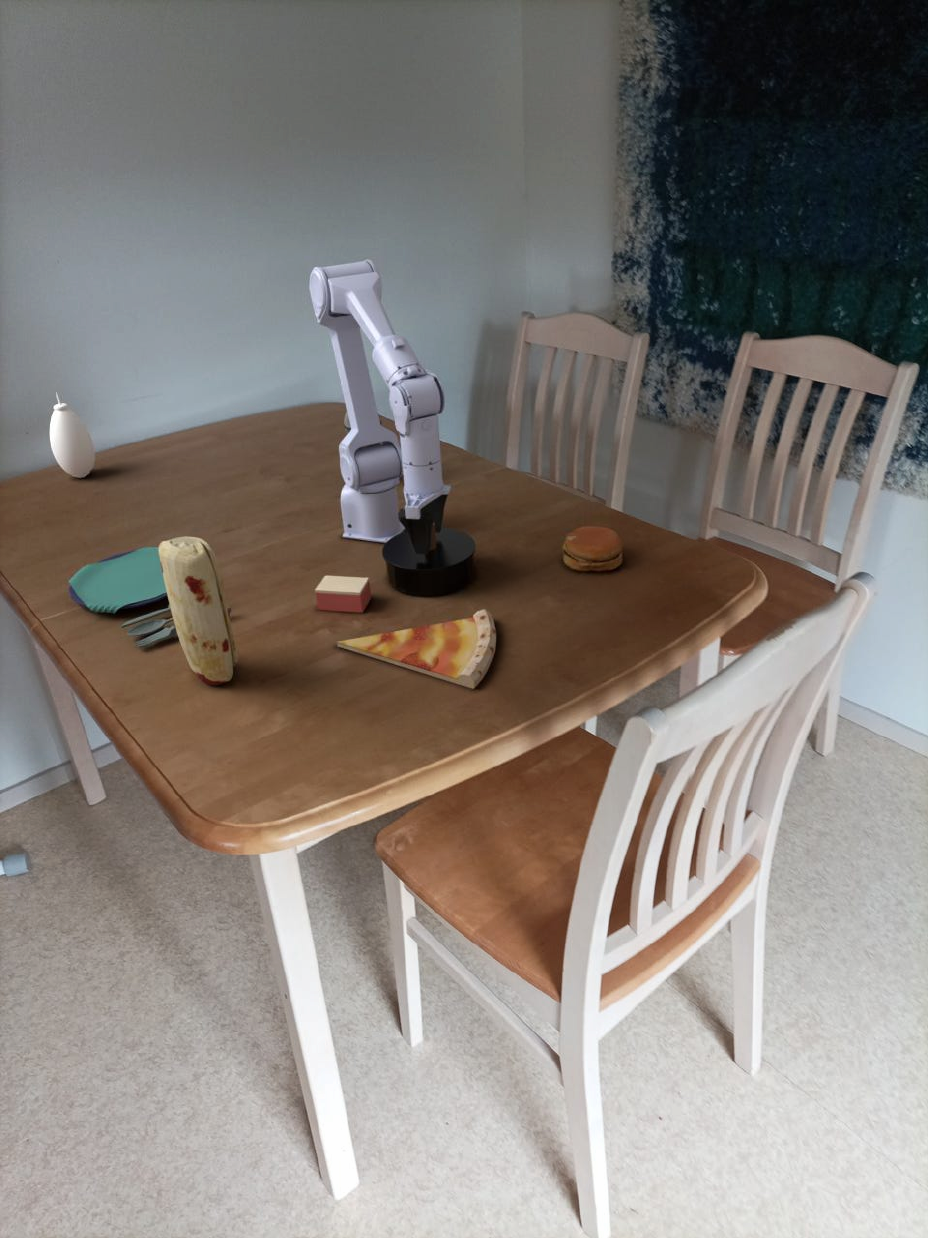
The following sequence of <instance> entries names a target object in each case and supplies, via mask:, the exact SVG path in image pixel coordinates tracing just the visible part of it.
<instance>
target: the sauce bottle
mask: <svg viewBox="0 0 928 1238" xmlns="http://www.w3.org/2000/svg"><path fill="white" fill-rule="evenodd" d="M55 396H56V399H57V404H55V405H53V413H52V415H51V418H50V424H49V442H50V447H51V450H52V453H53V456H54V458H55V460H56V462H57V464H58V465H59V467H60V468H61V469H62V470H63V471H64V472H65V473H66V474H68V475H71V476H72V477H74V478H78V479H82V478H85V477H86V476H87V475H89V474H90V472H91V471H92V470H93V469H94V466H95V462H96V450H95V444H94V441H93V439H92V437H91V434H90V432H89V430H88V429H87V427H86V425H85V424H84V422H83V421H82V420H81V419H80V417H79V416H78V415H77V414H76V412H75V411H74V410H72V409H71V408H69V405H68V404H67V403H66V402H65V403H63V402H61V397H60V395H59V394H58V392H57V391H56V392H55ZM84 473H85V474H84ZM73 474H74V475H73Z"/></svg>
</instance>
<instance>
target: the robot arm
mask: <svg viewBox="0 0 928 1238" xmlns="http://www.w3.org/2000/svg"><path fill="white" fill-rule="evenodd" d="M308 286H309V293H310V298H311V302H312V306H313V310H314V315H315V317H316V320H317V324H319V325H321V326H322V327H326V328H327V330H328V334H329V337H330V341H331V345H332V349H333V354H334V358H335V363H336V368H337V372H338V377H339V380H340V385H341V386H340V387H341V389H342V390H341V391H342V394H343V399H344V404H345V407H346V412H348V417H349V421H350V426H351V430H350V432H349V433H348V434H347V433H346V436H344V438H343V439H342V440H341V442H340V444H339V445H338V453H339V459H340V460H339V467H340V468H339V469H340V472H341V473H340V474H341V476H342V479H343V480H344V483H345V484H344V486H342V489H341V492H340V509H341V516H342V523H343V524H342V525H343V533H342V537H343V538H345V539H353V540H354V539H355V540H361V541H367V542H374V543H383V544H385V543H386V542H387V541H388V540H389V539H391V538H392V537H394V536H396V535H398V534H400V533H403V532H406V531H407V533H408V535H409V537H410V540H411V543H412V546H413V548H414V551H415V553H416V554H429V551H430V547H431V533H432V527H433V523H435V532H436V533H440V531H441V527H442V526H443V519H444V512H445V507H446V502H447V499H448V496H449V494H450V492H451V490H452V487H451V486H452V485H450V484H444V481H443V470H442V454H441V439H440V423H439V415H441V414H442V413H443V411H444V409H445V406H446V405H445V404H446V397H445V392H444V388H443V385H442V383H441V381H440V378H439V377H438V376H437V374H435V373H433V372H430V370H429V369H428V368H423V366H422V364H421V362H420V360H419V358H418V357H417V355H416V354H415V351H414V350H413V349H412V347H411V345H410V343H409V342H408V339H406V337H404V336H402V335H397V334H396V333H395V331H394V328H393V326H392V324H391V321H390V319H389V316H388V314H387V312H386V309H385V308H384V305H383V303H382V293H383V292H382V287H383V284H382V277H381V274H380V271H379V268H378V266H377V265H376V264H375V263H374V262H373V261H372V260H371V259H364V260H363V261H356V262H348V263H343V264H342V263H341V264H337V265H329V266H328V265H327V266H322V267H321V266H315V267H314V268H313V269H312V271H311V273H310V277H309V285H308ZM361 330H362V331H363V333H364V334H365V336H366V337H367V339H368V340H369V342H370V343H371V345H372V346H373V350H372V355H371V359H372V361H373V363H374V365H375V367H376V369H377V370H378V372H379V374H380V376H381V378H382V379H383V382H384V383H385V385H386V387H387V389H388V390H389V396H388V400H389V405H390V410H391V412H392V414H393V418H394V427H395V429H396V431H397V432H398V433H399V439H400V440H399V439H398V436H397V434H396V433H395V432H394V431H392V430H390V429H388V428H387V427H384V426H383V425H382V424H381V425H380V421H379V416H380V415H379V416H378V414H379V412H378V407H377V402H376V398H375V393H374V390H373V384H372V380H371V375H370V370H369V366H368V361H367V355H366V351H365V347H364V342H363V336H362V333H361ZM399 441H400V442H399ZM376 443H380V445H376V446H372V447H368V448H364V449H359V450H357V449H358V448H360V447H363V446H367V445H371V444H376ZM402 477H403V483H404V486H403V496H404V500H405V506H404V508H400V509H399V499H398V489H397V485H400V483H401V482H400V481H401V479H400V478H402Z"/></svg>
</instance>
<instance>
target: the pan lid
mask: <svg viewBox="0 0 928 1238" xmlns="http://www.w3.org/2000/svg"><path fill="white" fill-rule="evenodd" d="M476 547H477V546H476V542H475V540H474V539H473V537H472V536H471V535H470V534H468V533H466V532H464V531H461V530H459V529H455V528H451V527H441V531H440V533H436V532H435V523H433V527H432V533H431V547H430V551H429V554H416V553H415V551H414V548H413V546H412V543H411V540H410V537H409V535H408V533H407V531H406V530H405V531H403V532H402V533H400V534H398V535H396V536H394V537H392V538H391V539H389V540H388V541H387V542H386V543H383V546H382V549H381V555H382V558H383V560H384V562H385V563H386V562H387V563H388V564H389V565H391V566H393V567H395V568H397V569H401V570H404V571H410V572H436V571H442V570H447V569H450V568H453V567H456V566H459V565H461V564H463V563H464V562H466V561H467V560H469V559H470V558H471V557H472V556H473V557H474V554H475V553H476Z"/></svg>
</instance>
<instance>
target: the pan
mask: <svg viewBox="0 0 928 1238" xmlns="http://www.w3.org/2000/svg"><path fill="white" fill-rule="evenodd" d="M385 566H386V568H385V569H386V577H387V580H388V583H389V585H390V587H392V589H394V590H395V591H396V592H399V593H401V594H403V595H407V596H412V597H420V598H429V597H432V598H433V597H440V596H446V595H449V594H452V593H455V592H458V591H460V590H461V589H463V588H465V587H466V586H468V585H469V584H470V583H471V582H472V580H473V579H474V576H475V575H474V574H475V572H474V570H475V567H474V566H475V565H474V555H473V556H472V557H471V558H470V559H469V560H467V561H466V562H464V563H463V564H461V565H459V566H456V567H453V568H450V569H447V570H442V571H436V572H410V571H404V570H401V569H397V568H395V567H393V566H391V565H389V564H388V563H387V562H386V561H385Z"/></svg>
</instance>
